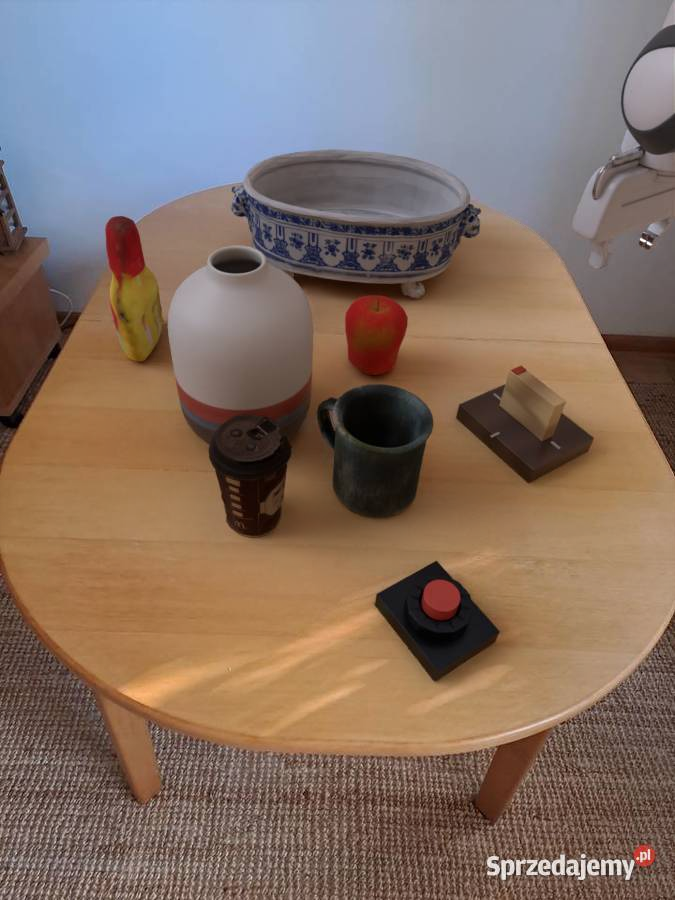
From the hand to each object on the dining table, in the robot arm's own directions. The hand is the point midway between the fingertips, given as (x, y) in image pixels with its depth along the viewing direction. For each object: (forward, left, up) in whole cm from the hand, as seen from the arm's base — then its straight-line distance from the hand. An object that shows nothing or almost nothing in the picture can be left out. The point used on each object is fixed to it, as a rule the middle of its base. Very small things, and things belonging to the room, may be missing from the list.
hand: (622, 255), depth 82 cm
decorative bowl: (+45, +8, -21) cm, 50 cm away
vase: (+18, +43, -21) cm, 52 cm away
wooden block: (-3, +13, -19) cm, 23 cm away
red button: (-19, +41, -18) cm, 49 cm away
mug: (+1, +36, -21) cm, 42 cm away
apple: (+19, +22, -21) cm, 36 cm away
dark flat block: (-3, +13, -21) cm, 25 cm away
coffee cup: (+3, +50, -21) cm, 55 cm away
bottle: (+40, +49, -21) cm, 67 cm away
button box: (-19, +41, -21) cm, 50 cm away
